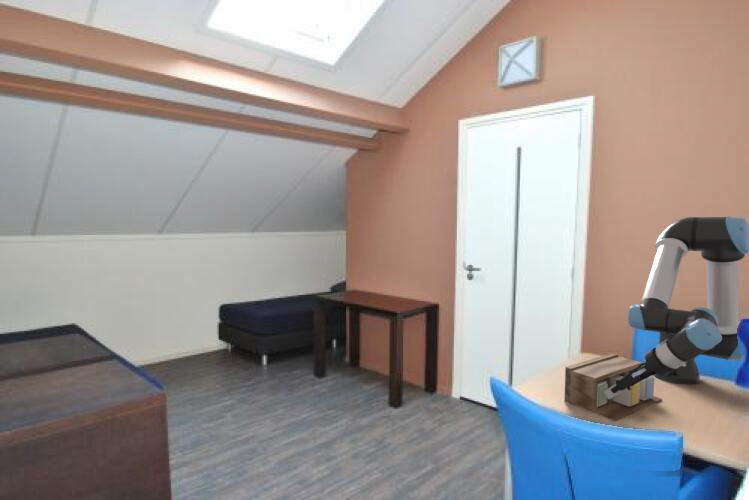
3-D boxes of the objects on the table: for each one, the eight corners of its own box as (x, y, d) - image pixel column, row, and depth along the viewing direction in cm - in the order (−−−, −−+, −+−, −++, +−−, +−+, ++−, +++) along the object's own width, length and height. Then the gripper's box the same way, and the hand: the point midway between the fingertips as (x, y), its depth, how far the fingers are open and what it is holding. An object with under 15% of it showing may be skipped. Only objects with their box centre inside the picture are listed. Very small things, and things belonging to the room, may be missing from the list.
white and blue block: (653, 397, 153) (654, 376, 153) (646, 401, 151) (647, 379, 150) (631, 390, 160) (631, 369, 159) (623, 393, 157) (624, 372, 156)
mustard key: (639, 403, 148) (640, 381, 148) (631, 407, 146) (632, 384, 145) (616, 396, 155) (617, 374, 154) (608, 399, 152) (609, 377, 152)
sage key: (607, 404, 148) (608, 381, 148) (598, 407, 146) (599, 385, 145) (585, 396, 155) (586, 374, 154) (577, 399, 152) (577, 377, 151)
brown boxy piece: (661, 400, 153) (663, 366, 152) (615, 420, 138) (616, 383, 138) (611, 384, 168) (612, 353, 167) (564, 401, 153) (565, 367, 152)
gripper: (663, 374, 125) (603, 411, 140) (686, 365, 132) (626, 401, 147) (644, 350, 129) (587, 388, 144) (667, 343, 136) (610, 380, 151)
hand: (607, 395), depth 146 cm, fingers closed
